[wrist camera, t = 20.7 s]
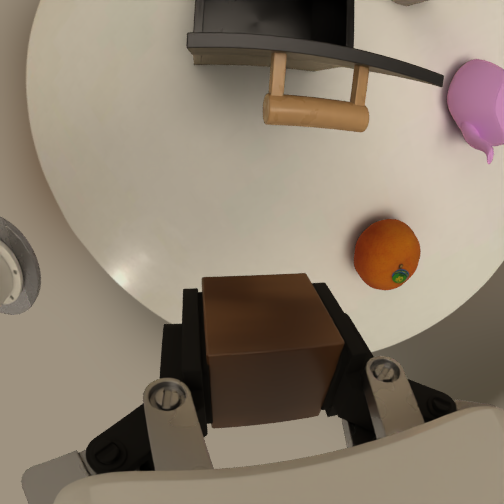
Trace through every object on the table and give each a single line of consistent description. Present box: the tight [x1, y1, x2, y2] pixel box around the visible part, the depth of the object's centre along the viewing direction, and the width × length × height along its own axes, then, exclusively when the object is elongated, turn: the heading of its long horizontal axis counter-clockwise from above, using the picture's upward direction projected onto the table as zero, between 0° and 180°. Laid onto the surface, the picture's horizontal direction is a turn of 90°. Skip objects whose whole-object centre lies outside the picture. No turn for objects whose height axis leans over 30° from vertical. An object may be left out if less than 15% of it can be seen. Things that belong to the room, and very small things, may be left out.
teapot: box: [447, 59, 504, 164], centre depth 33 cm, size 20×13×12 cm, turn 144°
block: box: [202, 273, 344, 428], centre depth 10 cm, size 4×4×4 cm
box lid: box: [187, 32, 444, 132], centre depth 19 cm, size 12×15×5 cm
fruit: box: [354, 219, 420, 290], centre depth 44 cm, size 11×10×8 cm
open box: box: [193, 0, 354, 72], centre depth 25 cm, size 12×15×11 cm
